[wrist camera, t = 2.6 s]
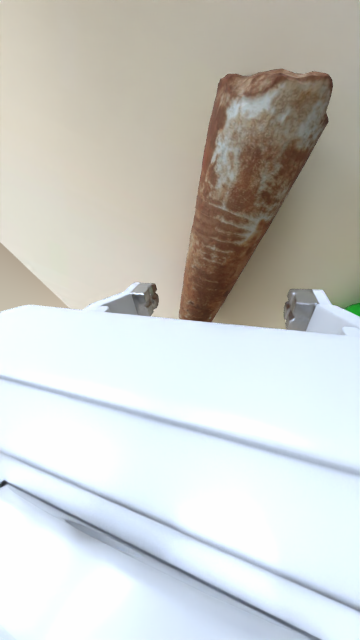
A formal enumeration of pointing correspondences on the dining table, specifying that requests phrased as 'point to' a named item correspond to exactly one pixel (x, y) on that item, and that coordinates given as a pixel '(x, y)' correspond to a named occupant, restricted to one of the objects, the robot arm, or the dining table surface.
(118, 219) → the dining table surface
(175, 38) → the dining table surface
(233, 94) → the bread
